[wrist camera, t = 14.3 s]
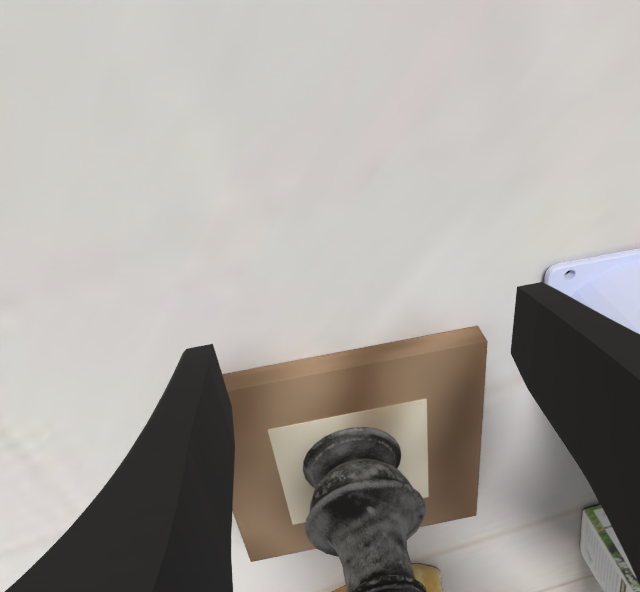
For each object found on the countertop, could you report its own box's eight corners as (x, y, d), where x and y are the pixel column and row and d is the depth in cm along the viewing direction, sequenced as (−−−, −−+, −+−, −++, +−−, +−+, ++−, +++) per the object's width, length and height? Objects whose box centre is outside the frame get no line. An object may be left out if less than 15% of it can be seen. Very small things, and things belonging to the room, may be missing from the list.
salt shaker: (372, 504, 32) (438, 766, 22) (278, 486, 30) (305, 767, 20) (427, 436, 29) (530, 699, 19) (328, 411, 27) (388, 692, 17)
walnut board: (477, 325, 27) (488, 342, 26) (469, 498, 35) (476, 516, 34) (192, 380, 26) (191, 399, 25) (250, 543, 34) (251, 563, 33)
